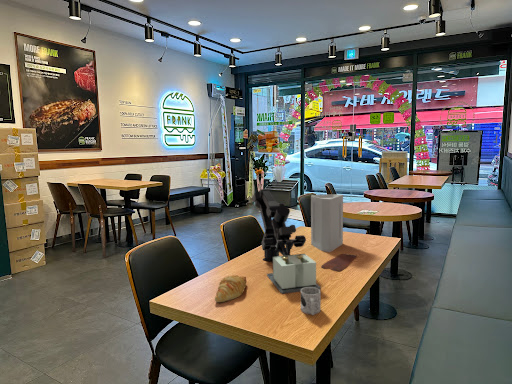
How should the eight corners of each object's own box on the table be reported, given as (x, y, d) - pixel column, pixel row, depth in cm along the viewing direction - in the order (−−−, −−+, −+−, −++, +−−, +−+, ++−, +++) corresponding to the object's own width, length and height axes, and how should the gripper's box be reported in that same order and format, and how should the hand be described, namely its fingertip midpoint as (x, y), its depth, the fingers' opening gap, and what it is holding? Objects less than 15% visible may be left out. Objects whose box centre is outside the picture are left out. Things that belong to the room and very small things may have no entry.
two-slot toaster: (273, 277, 142) (272, 256, 141) (304, 274, 145) (304, 253, 144) (282, 288, 130) (281, 266, 129) (316, 284, 134) (316, 262, 133)
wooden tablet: (340, 273, 150) (340, 270, 149) (319, 269, 155) (319, 265, 155) (360, 257, 171) (360, 254, 171) (341, 254, 177) (341, 250, 177)
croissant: (223, 315, 120) (232, 298, 117) (201, 298, 123) (209, 281, 120) (250, 291, 139) (258, 276, 136) (230, 277, 142) (238, 262, 139)
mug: (299, 305, 119) (299, 287, 118) (319, 305, 119) (318, 286, 118) (302, 319, 109) (302, 299, 108) (323, 319, 109) (323, 299, 108)
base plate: (266, 275, 148) (266, 250, 146) (301, 271, 151) (301, 247, 150) (281, 293, 128) (280, 265, 127) (320, 288, 132) (320, 261, 131)
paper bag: (319, 240, 202) (318, 193, 199) (343, 243, 194) (343, 194, 190) (304, 248, 187) (304, 197, 183) (330, 252, 178) (330, 199, 175)
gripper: (262, 220, 144) (270, 252, 135) (304, 217, 149) (314, 248, 139) (258, 234, 153) (265, 265, 143) (298, 230, 157) (307, 261, 148)
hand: (288, 260), depth 143 cm, fingers closed, pressing on two-slot toaster
